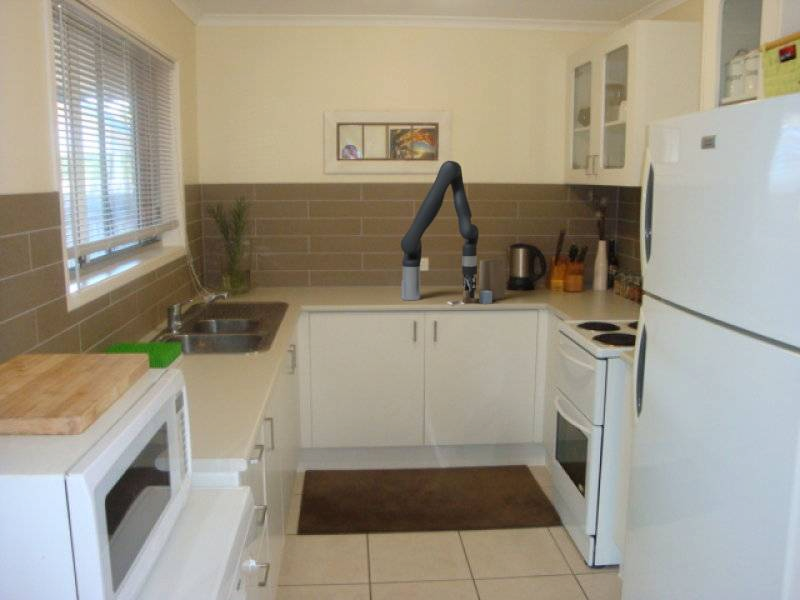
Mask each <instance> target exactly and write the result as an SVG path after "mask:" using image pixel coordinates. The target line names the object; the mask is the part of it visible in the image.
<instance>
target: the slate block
mask: <svg viewBox="0 0 800 600" xmlns="http://www.w3.org/2000/svg"><path fill="white" fill-rule="evenodd" d="M492 303H493V300H492V292H491V291H488V290H486V291H480V297H479V304H483V305H488V304H489V305H490V304H492Z"/></svg>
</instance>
